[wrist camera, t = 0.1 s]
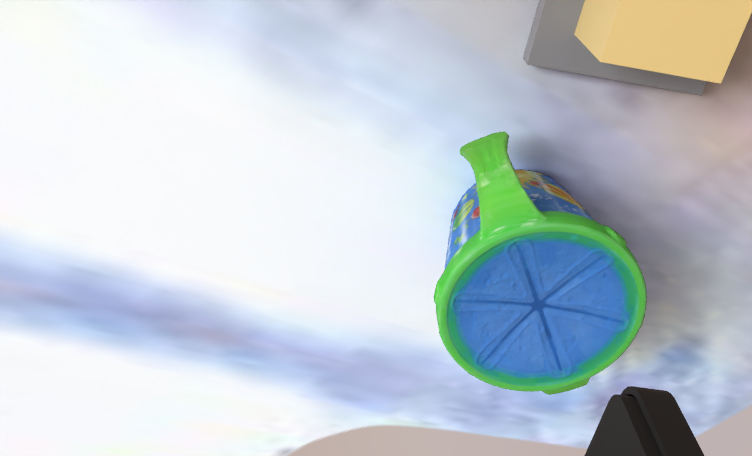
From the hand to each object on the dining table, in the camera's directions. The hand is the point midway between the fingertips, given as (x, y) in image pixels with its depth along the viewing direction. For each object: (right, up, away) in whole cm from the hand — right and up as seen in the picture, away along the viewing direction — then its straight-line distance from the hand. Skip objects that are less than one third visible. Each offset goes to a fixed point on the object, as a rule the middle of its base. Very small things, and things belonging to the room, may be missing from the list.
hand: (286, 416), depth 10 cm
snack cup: (+10, +3, +34) cm, 36 cm away
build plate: (+15, +16, +27) cm, 35 cm away
